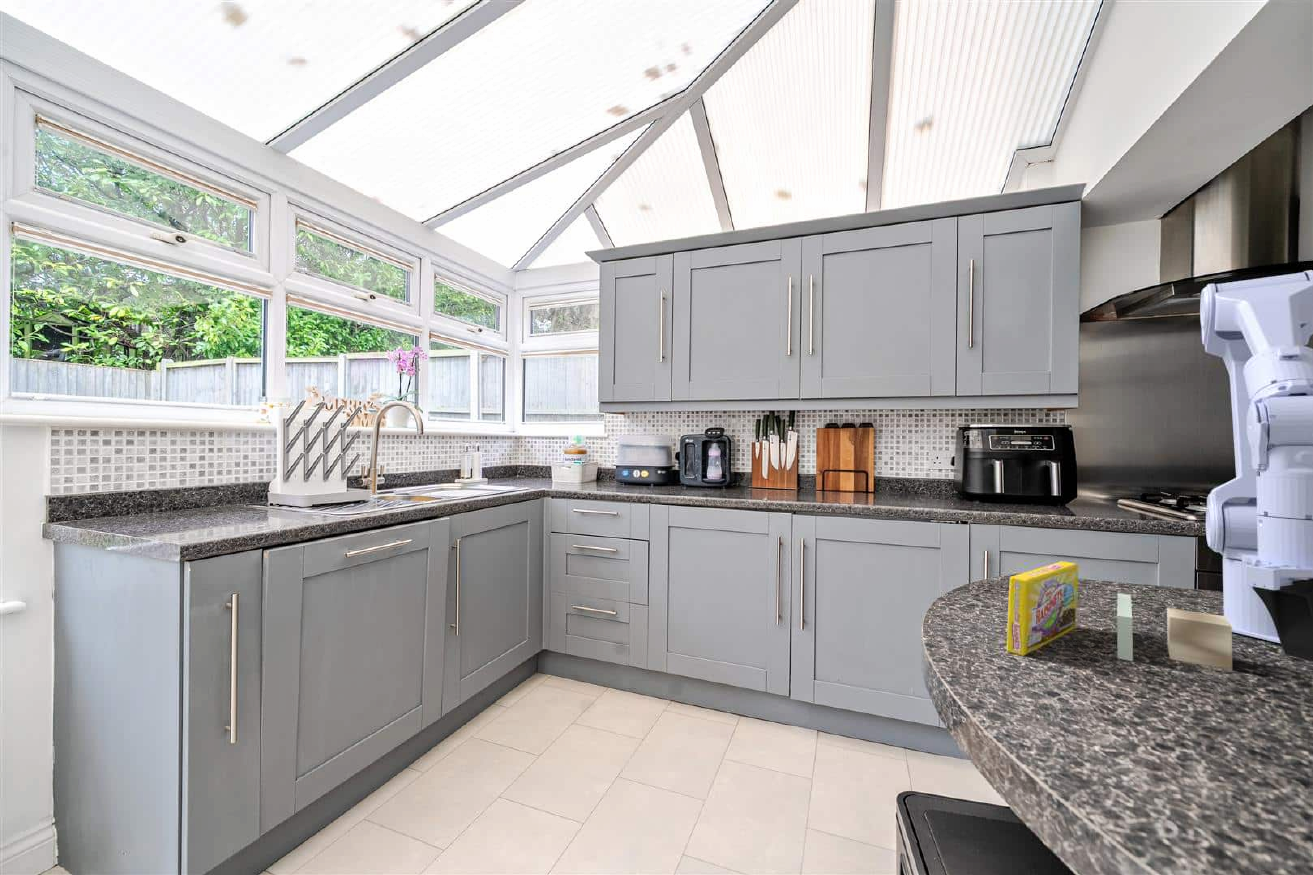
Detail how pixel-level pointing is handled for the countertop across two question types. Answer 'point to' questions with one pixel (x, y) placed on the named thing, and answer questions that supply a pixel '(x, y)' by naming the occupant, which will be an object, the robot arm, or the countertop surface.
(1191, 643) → the maple block
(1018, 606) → the candy box
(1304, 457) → the robot arm
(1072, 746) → the countertop surface
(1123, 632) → the sage board
